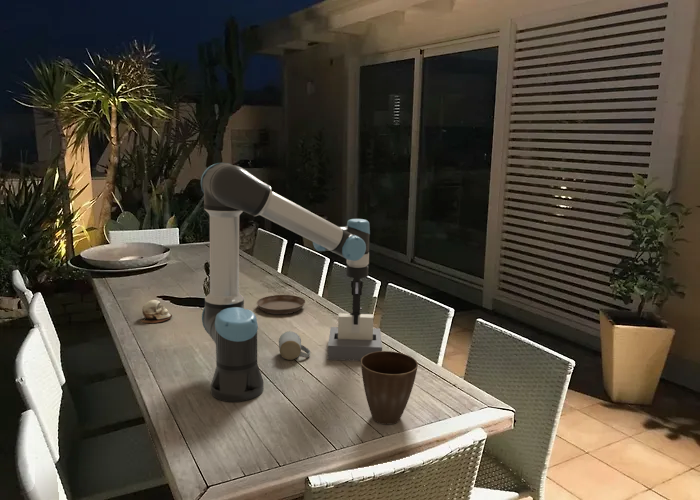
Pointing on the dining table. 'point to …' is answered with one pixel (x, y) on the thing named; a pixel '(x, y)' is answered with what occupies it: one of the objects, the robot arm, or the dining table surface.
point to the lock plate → (352, 346)
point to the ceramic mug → (292, 346)
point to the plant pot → (388, 383)
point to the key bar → (346, 327)
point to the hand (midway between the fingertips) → (355, 330)
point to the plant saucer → (281, 304)
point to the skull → (155, 312)
